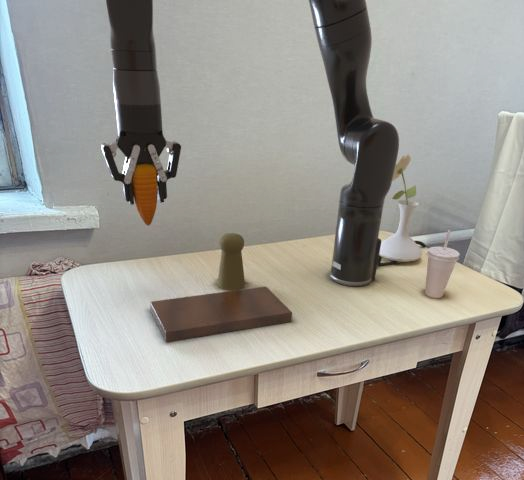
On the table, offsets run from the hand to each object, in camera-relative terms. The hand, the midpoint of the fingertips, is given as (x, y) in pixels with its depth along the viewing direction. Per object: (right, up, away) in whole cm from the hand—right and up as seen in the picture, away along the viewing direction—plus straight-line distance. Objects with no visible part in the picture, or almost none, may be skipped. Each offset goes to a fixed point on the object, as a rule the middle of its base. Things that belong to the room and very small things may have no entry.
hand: (146, 202), depth 93 cm
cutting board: (+13, -21, +3) cm, 25 cm away
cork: (+15, -13, +16) cm, 25 cm away
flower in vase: (+55, -4, +34) cm, 65 cm away
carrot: (0, -4, +2) cm, 5 cm away
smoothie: (+58, -15, +16) cm, 63 cm away
